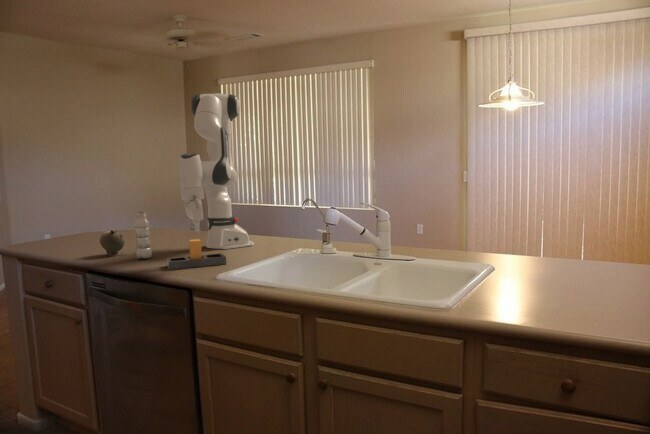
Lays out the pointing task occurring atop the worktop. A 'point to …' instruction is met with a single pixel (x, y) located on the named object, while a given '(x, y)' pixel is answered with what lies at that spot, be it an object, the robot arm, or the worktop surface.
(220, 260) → the grey compartment tray
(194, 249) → the orange block
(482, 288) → the worktop surface
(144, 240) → the plastic bottle
